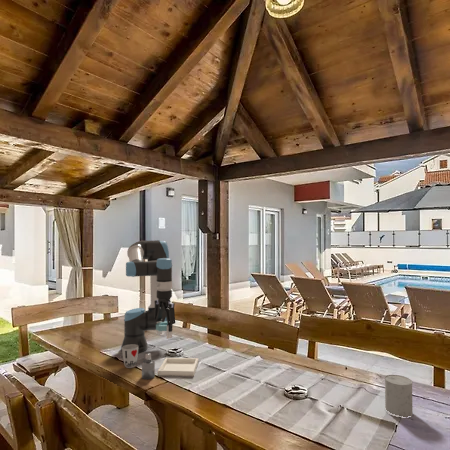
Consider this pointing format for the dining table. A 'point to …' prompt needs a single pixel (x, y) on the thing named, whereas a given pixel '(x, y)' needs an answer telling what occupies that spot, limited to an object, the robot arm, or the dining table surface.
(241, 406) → the dining table surface
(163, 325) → the ring
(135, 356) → the cup
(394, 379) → the grey cylinder
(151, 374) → the grey bottle
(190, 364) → the tray
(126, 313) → the robot arm
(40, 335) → the dining table surface
